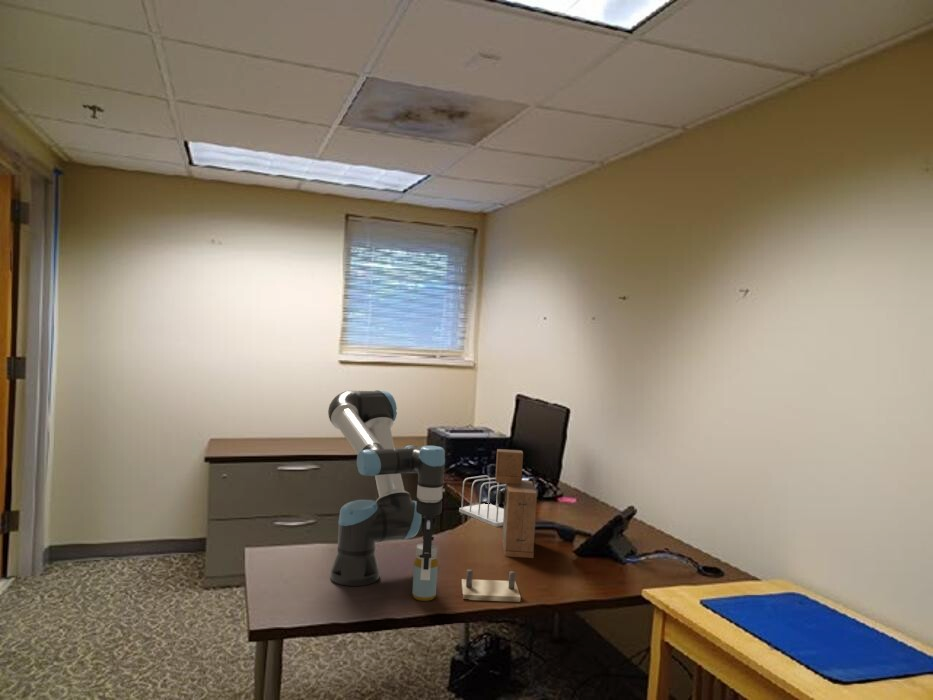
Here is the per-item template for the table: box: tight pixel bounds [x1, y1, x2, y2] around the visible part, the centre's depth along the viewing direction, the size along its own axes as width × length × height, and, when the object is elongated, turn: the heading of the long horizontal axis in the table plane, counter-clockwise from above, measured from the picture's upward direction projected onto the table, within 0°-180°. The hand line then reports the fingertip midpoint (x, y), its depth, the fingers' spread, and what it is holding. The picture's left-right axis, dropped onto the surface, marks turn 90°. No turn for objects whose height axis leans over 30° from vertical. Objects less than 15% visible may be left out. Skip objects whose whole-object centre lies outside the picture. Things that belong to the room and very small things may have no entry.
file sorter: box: [458, 474, 506, 528], centre depth 276 cm, size 25×17×16 cm
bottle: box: [411, 542, 439, 602], centre depth 187 cm, size 7×7×15 cm
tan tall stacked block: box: [494, 448, 538, 559], centre depth 236 cm, size 19×14×35 cm
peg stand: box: [460, 568, 522, 603], centre depth 193 cm, size 17×12×6 cm
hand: (425, 570), depth 187 cm, fingers open, 13 cm apart
